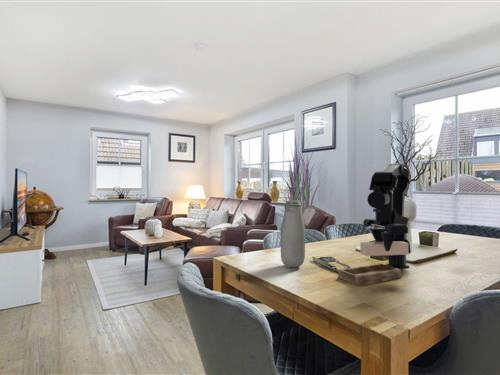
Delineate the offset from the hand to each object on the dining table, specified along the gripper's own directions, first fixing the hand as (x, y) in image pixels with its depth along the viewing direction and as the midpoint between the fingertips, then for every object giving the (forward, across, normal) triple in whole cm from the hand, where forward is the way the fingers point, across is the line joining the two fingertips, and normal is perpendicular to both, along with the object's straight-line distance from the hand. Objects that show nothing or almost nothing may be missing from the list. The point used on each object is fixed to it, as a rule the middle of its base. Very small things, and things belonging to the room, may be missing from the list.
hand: (384, 249), depth 106 cm
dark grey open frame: (+12, +20, +10) cm, 25 cm away
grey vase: (+11, +21, +28) cm, 37 cm away
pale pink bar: (+2, 0, 0) cm, 2 cm away
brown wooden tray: (+11, +3, +4) cm, 12 cm away
